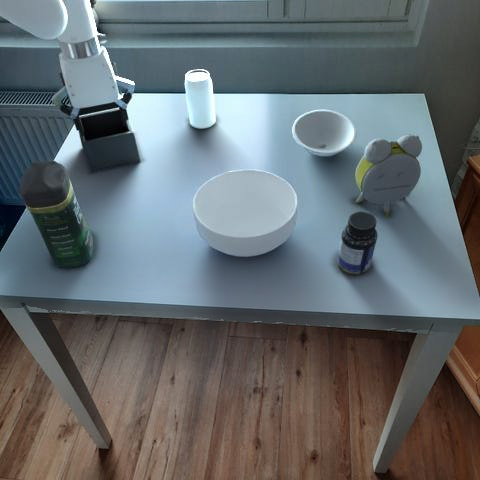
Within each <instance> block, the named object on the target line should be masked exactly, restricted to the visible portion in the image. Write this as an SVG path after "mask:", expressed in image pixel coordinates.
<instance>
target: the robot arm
mask: <svg viewBox="0 0 480 480" xmlns="http://www.w3.org/2000/svg"><path fill="white" fill-rule="evenodd" d="M0 17H2V18H3V19H5V20H6V21H8V22H9V23H11V24H13V25H15V26H16V27H19V28H20V29H22V30H24V31H25V32H27V33H29V34H31V35H33V36H35V37H36V38H38V39H41V40H46V41H48V40H49V41H52V40H55V39H57V41H58V45H59V48H60V51H61V52H60V53H59V54H58V59H59V64H60V69H61V72H62V74H63V78H64V81H65V86H63V87H61V88H60V89H59V90H58V91H57V92H56V93H55V94H54V95H52V97H51V102H52V104H54V106H56V108H58V109H59V110H60V112H61V113H63V114H65V115H67V116H68V117H70V118H71V119H72V121H73V123H74V124H73V125H74V127H75V129H76V131H77V132H79V131H78V130H80V132H81V135H82V136H83V135H84V134H85V133H84V129H83V126H82V123H81V120H80V116H79V113H78V112H79V110H80V108H86V107H91V106H97V105H102V104H107V103H111V102H115V103H116V104H118V106H119V110H120V114H121V118H122V122H123V125H124V126H125V127H127V123H126V121H128V120H129V121H130V118H129V115H128V110H127V108H128V105H129V103H130V102H131V100H132V98H133V94H134V91H135V88H136V87H135V83H134V81H131V80H129V79H126V78H122V77H119V76H118V77H116V76H115V75H114V72H113V69H112V65H111V63H112V62H111V60H110V57H109V54H108V52H107V49H106V48H105V46H104V45H103V44H105V43H107V42H108V39H107V35H106V33H104V34H102V33H99V32H98V31H97V27H96V22H95V18H94V14H93V11H92V7H91V2H90V0H0ZM117 85H118V86H120V88H121V87H122V88H125V89H126V90H125V92H124V93H123V94H122V96H121V95H119V91H118V86H117ZM67 95H69V98H70V101H71V103H72V104H70V106H69V105H67V104H66V103H64V102H63V101H62V100H64V99H65V98H66V97H68V96H67Z"/></svg>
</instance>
